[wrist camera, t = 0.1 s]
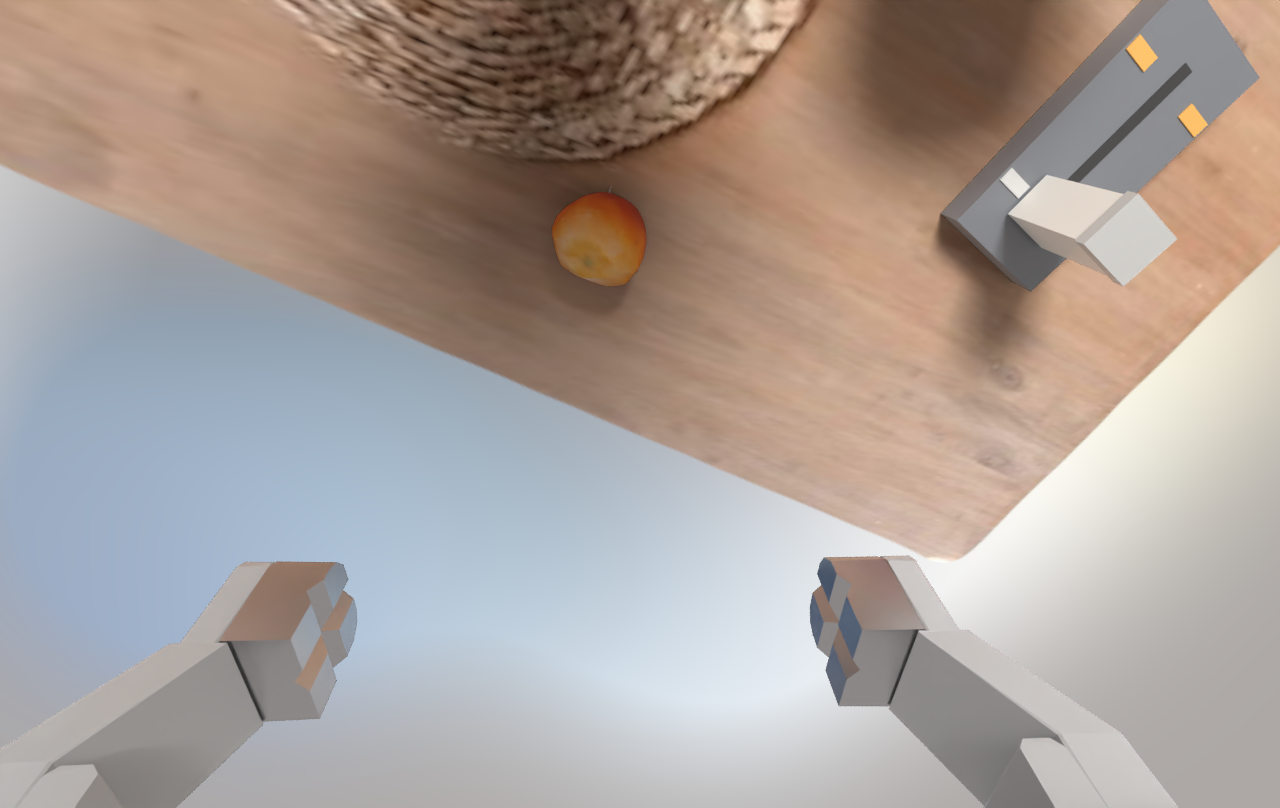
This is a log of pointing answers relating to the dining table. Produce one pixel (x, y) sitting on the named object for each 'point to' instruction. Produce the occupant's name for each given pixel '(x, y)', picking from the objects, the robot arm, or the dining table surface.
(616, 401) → the dining table surface
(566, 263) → the fruit
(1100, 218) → the fader tab
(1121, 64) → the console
